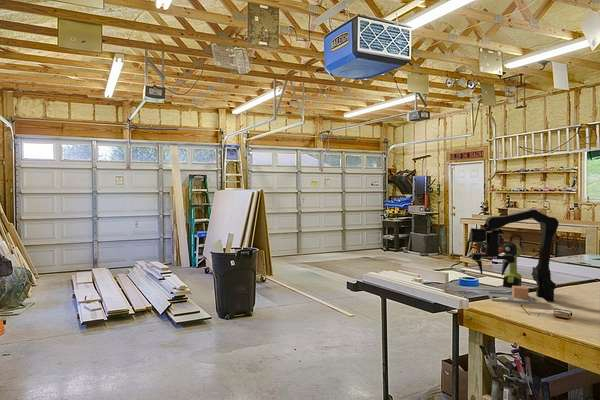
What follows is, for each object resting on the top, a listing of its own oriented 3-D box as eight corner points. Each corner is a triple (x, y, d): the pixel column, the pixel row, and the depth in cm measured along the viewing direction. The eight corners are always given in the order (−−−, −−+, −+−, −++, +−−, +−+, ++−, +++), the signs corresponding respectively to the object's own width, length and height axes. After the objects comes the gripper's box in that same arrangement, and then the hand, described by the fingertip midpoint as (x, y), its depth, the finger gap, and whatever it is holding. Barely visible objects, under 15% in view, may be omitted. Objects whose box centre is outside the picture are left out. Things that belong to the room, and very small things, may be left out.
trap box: (526, 298, 210) (526, 293, 210) (535, 307, 195) (535, 302, 194) (486, 295, 215) (486, 291, 215) (491, 303, 199) (492, 299, 199)
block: (525, 295, 209) (525, 286, 208) (528, 298, 204) (528, 288, 204) (511, 294, 210) (512, 285, 210) (514, 297, 205) (514, 288, 205)
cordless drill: (513, 295, 215) (514, 245, 215) (498, 293, 220) (499, 243, 219) (522, 287, 234) (523, 240, 233) (507, 285, 238) (508, 239, 237)
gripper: (510, 241, 215) (509, 272, 216) (469, 240, 220) (469, 270, 220) (515, 244, 204) (514, 277, 205) (472, 242, 209) (472, 275, 210)
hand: (491, 274), depth 210 cm, fingers open, 9 cm apart
